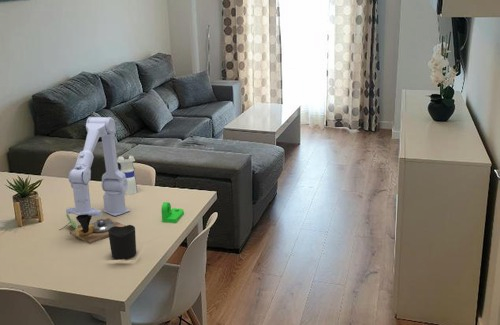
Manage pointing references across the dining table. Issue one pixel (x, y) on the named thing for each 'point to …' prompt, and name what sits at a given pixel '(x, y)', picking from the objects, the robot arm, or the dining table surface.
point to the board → (96, 236)
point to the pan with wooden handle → (96, 227)
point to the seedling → (71, 222)
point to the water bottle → (128, 172)
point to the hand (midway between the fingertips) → (86, 232)
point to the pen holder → (122, 242)
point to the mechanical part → (171, 213)
